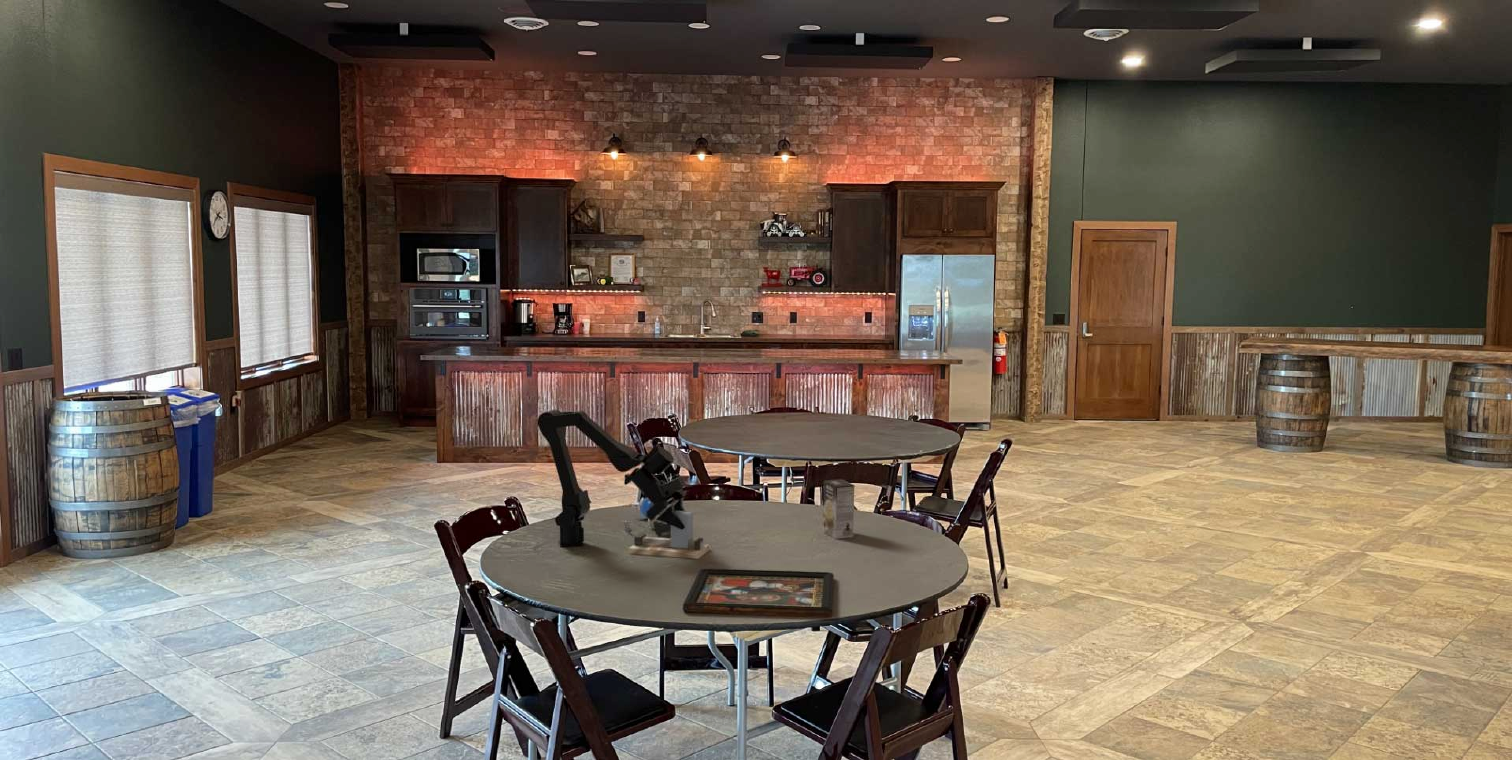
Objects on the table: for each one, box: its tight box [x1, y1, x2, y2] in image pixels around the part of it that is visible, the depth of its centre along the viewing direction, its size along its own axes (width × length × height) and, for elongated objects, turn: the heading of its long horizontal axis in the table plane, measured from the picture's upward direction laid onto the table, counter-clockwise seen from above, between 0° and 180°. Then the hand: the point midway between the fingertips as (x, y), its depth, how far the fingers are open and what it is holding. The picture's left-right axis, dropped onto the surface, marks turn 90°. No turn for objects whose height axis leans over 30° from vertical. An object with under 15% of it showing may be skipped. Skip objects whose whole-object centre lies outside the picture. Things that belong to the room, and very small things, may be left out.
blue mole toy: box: [628, 496, 653, 518], centre depth 338 cm, size 12×12×8 cm
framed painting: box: [682, 568, 835, 618], centre depth 260 cm, size 38×35×3 cm
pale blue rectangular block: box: [670, 510, 694, 548], centre depth 298 cm, size 5×5×9 cm
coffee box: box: [822, 478, 855, 540], centre depth 318 cm, size 9×6×16 cm
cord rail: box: [628, 533, 710, 560], centre depth 299 cm, size 20×11×4 cm, turn 75°
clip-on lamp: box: [624, 515, 671, 537], centre depth 322 cm, size 12×6×18 cm
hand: (686, 526), depth 297 cm, fingers closed on pale blue rectangular block, 5 cm apart
